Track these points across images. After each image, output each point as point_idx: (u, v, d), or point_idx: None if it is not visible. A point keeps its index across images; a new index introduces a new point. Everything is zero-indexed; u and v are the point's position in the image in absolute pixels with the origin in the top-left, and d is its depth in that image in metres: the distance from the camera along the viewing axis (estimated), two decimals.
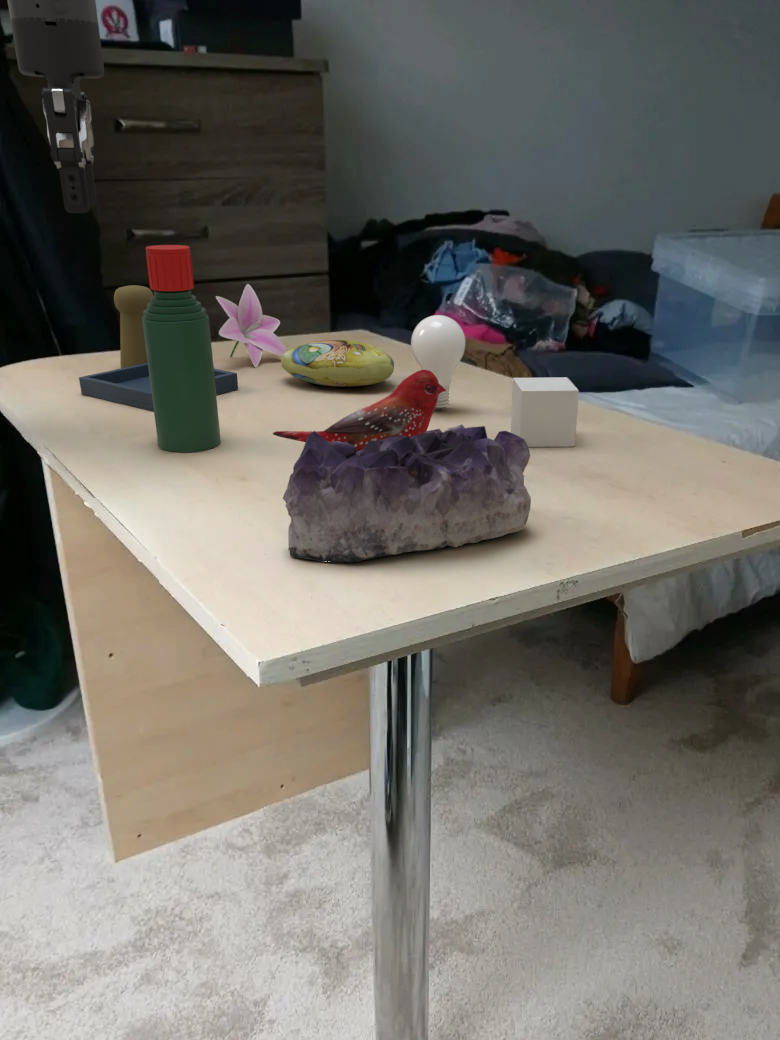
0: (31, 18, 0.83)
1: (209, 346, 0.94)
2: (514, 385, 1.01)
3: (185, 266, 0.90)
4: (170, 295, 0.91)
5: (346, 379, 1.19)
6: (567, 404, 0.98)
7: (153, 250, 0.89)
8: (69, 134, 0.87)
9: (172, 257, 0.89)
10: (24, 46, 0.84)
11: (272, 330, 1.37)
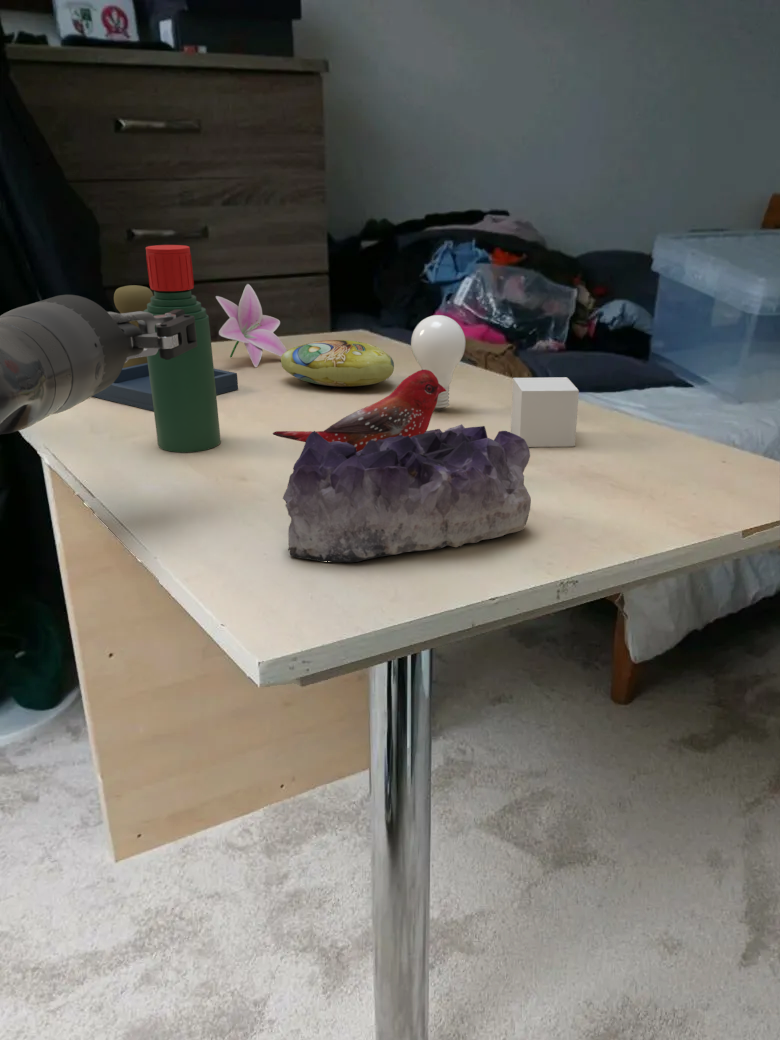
0: None
1: (209, 346, 0.94)
2: (514, 385, 1.01)
3: (185, 266, 0.90)
4: (170, 295, 0.91)
5: (346, 379, 1.19)
6: (567, 404, 0.98)
7: (153, 250, 0.89)
8: None
9: (172, 257, 0.89)
10: None
11: (272, 330, 1.37)
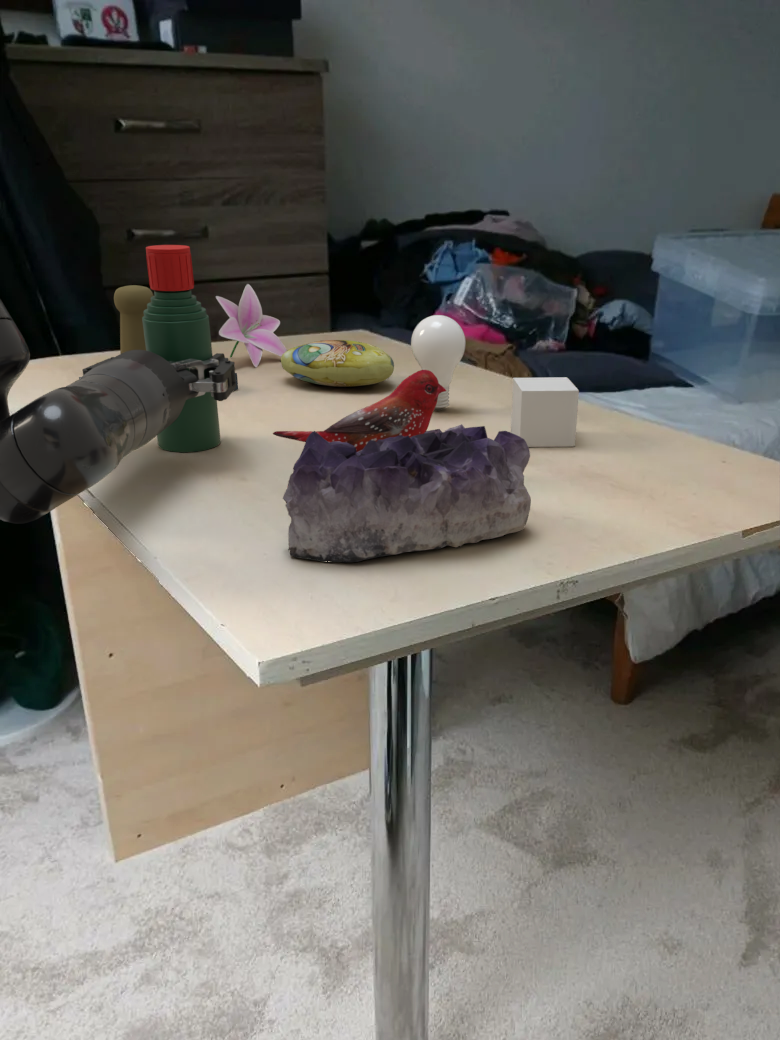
0: None
1: (209, 346, 0.94)
2: (514, 385, 1.01)
3: (185, 266, 0.90)
4: (170, 295, 0.91)
5: (346, 379, 1.19)
6: (567, 404, 0.98)
7: (153, 250, 0.89)
8: None
9: (172, 257, 0.89)
10: None
11: (272, 330, 1.37)
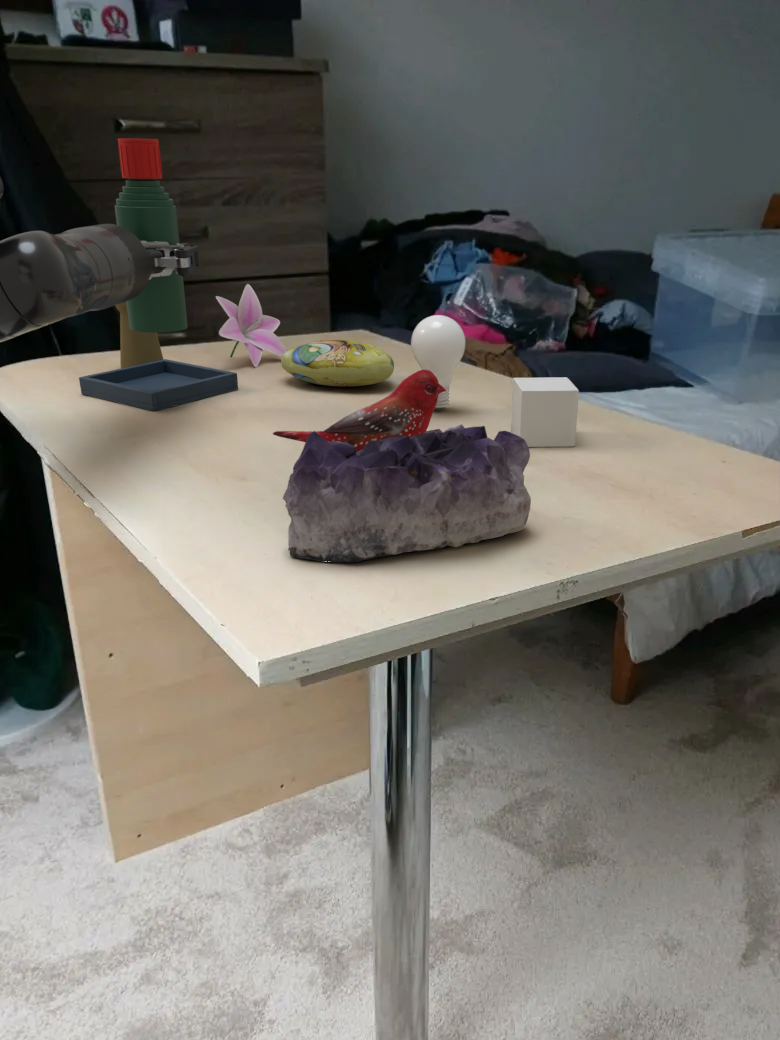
0: None
1: (176, 234, 1.03)
2: (514, 385, 1.01)
3: (154, 156, 0.99)
4: (139, 182, 1.00)
5: (346, 379, 1.19)
6: (567, 404, 0.98)
7: (124, 139, 0.98)
8: None
9: (141, 146, 0.98)
10: None
11: (272, 330, 1.37)
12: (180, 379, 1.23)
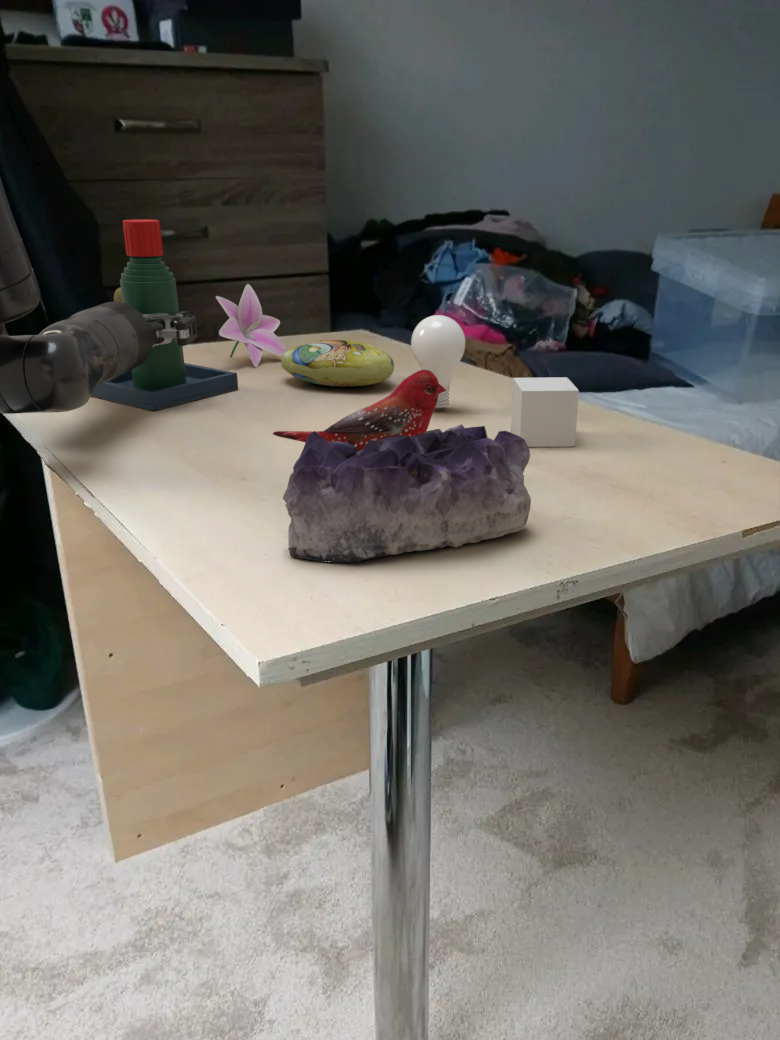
0: None
1: (176, 304, 1.14)
2: (514, 385, 1.01)
3: (155, 236, 1.10)
4: (142, 260, 1.10)
5: (346, 379, 1.19)
6: (567, 404, 0.98)
7: (128, 222, 1.08)
8: None
9: (144, 228, 1.09)
10: None
11: (272, 330, 1.37)
12: None
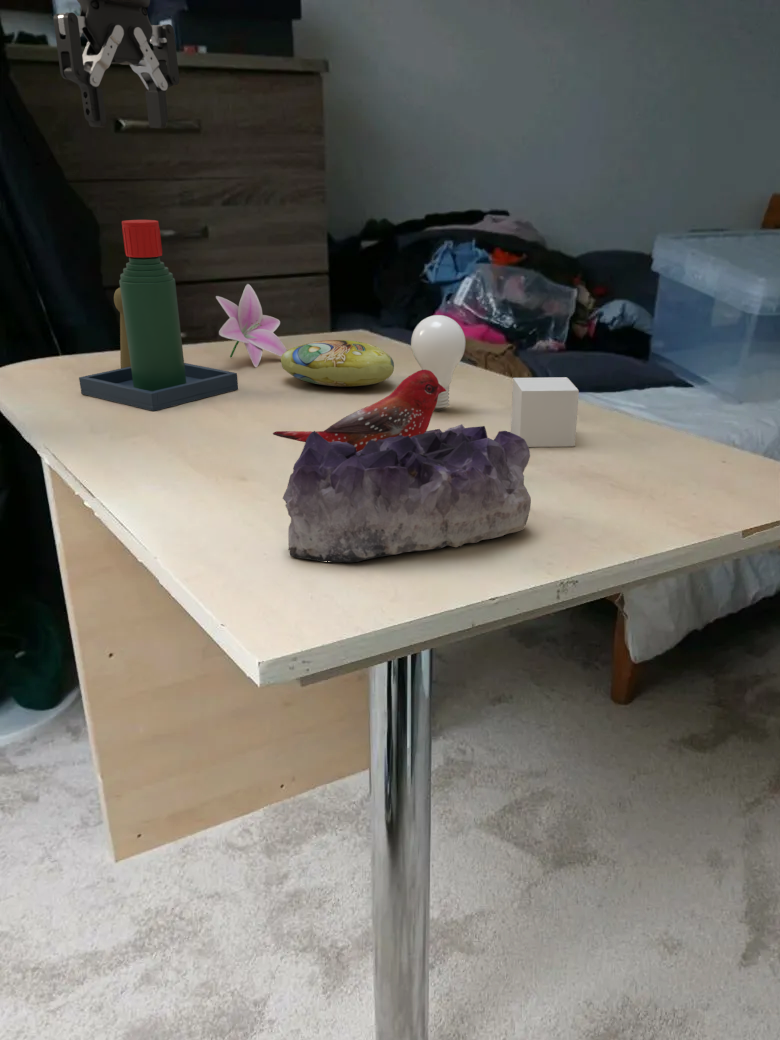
0: None
1: (175, 304, 1.14)
2: (514, 385, 1.01)
3: (154, 237, 1.10)
4: (142, 260, 1.10)
5: (346, 379, 1.19)
6: (567, 404, 0.98)
7: (127, 223, 1.08)
8: (92, 56, 1.00)
9: (143, 229, 1.09)
10: None
11: (272, 330, 1.37)
12: None
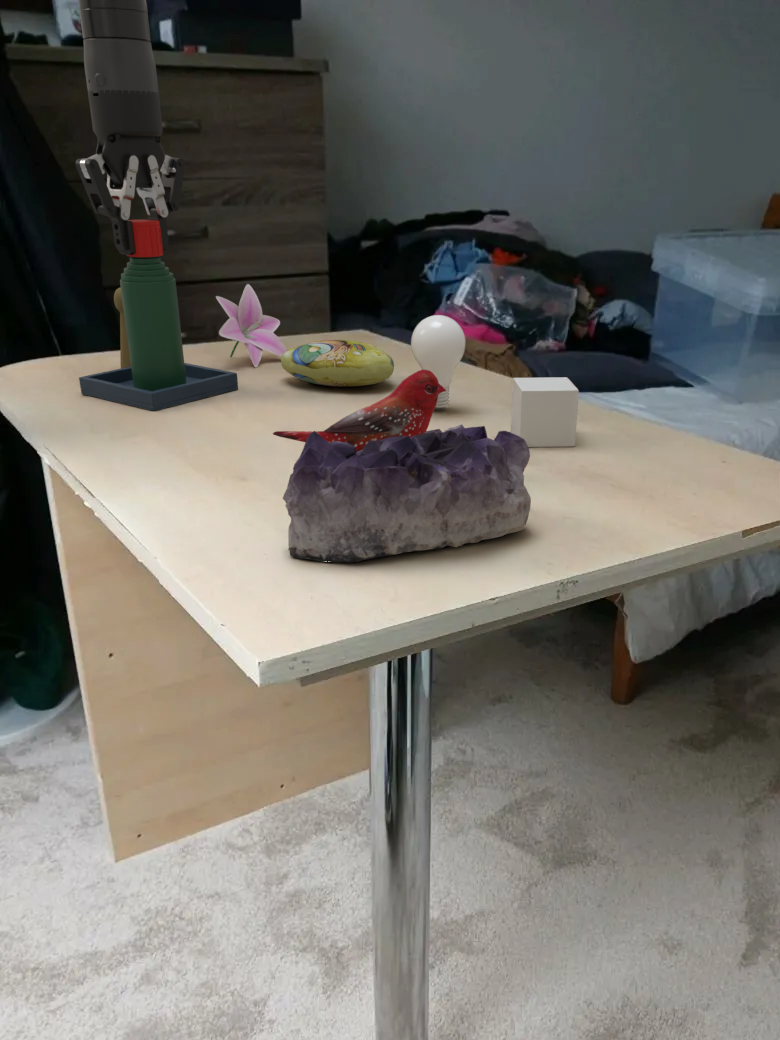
0: (88, 91, 1.03)
1: (176, 304, 1.14)
2: (514, 385, 1.01)
3: (155, 236, 1.10)
4: (142, 260, 1.10)
5: (346, 379, 1.19)
6: (567, 404, 0.98)
7: None
8: (117, 190, 1.06)
9: (144, 229, 1.09)
10: None
11: (272, 330, 1.37)
12: None
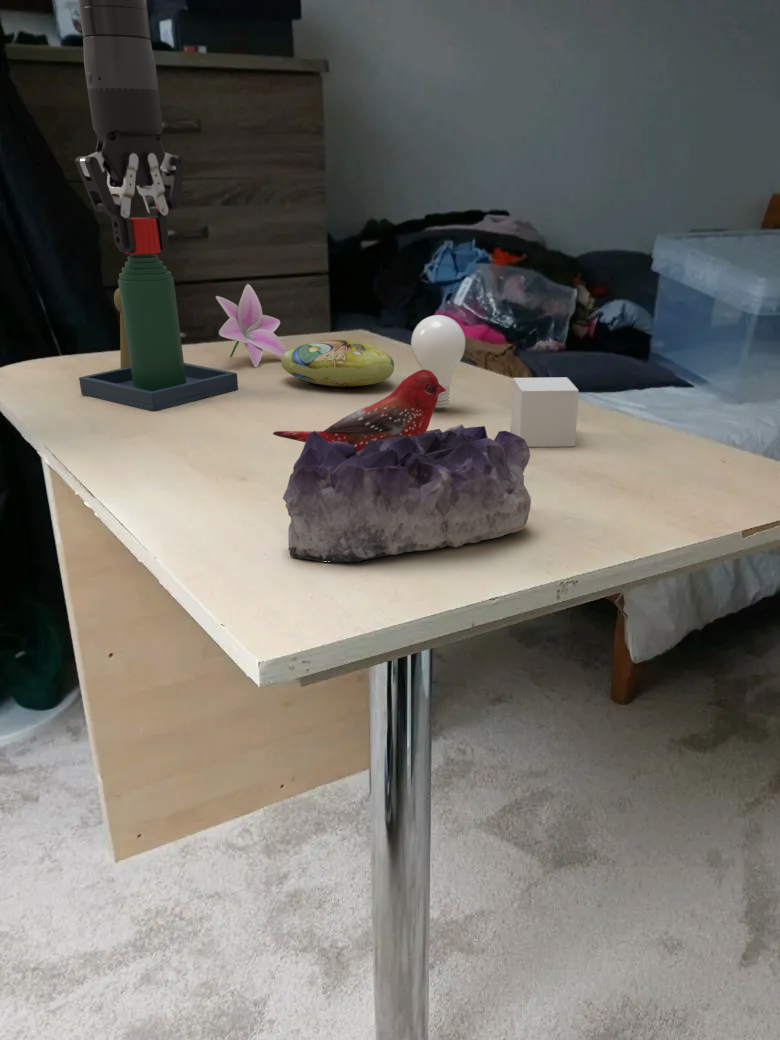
0: None
1: (174, 303, 1.14)
2: (514, 385, 1.01)
3: None
4: (140, 259, 1.10)
5: (346, 379, 1.19)
6: (567, 404, 0.98)
7: None
8: None
9: None
10: (160, 112, 1.06)
11: (272, 330, 1.37)
12: None
